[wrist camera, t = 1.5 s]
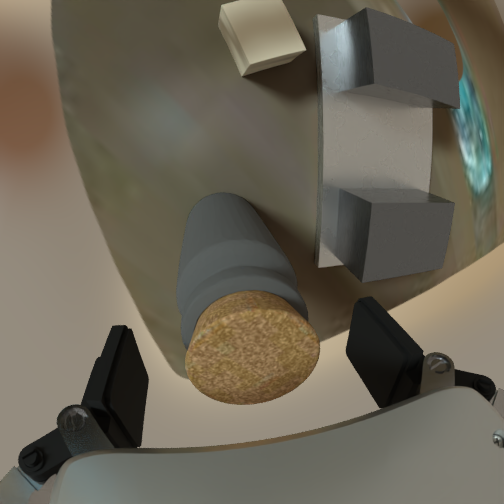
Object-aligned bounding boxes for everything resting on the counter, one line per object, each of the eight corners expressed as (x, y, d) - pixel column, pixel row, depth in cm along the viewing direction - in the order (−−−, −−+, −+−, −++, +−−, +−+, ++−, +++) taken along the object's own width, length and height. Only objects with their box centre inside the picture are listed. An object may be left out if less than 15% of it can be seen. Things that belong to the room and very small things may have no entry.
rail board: (312, 18, 17) (344, -9, 11) (421, 48, 18) (462, 40, 13) (314, 262, 25) (342, 297, 20) (413, 250, 27) (449, 275, 22)
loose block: (217, 25, 16) (221, 5, 13) (265, 13, 16) (277, -8, 12) (241, 77, 18) (250, 64, 15) (288, 62, 18) (306, 49, 15)
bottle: (241, 179, 21) (311, 262, 8) (268, 243, 24) (347, 377, 10) (173, 211, 21) (132, 339, 8) (205, 271, 24) (217, 427, 10)
